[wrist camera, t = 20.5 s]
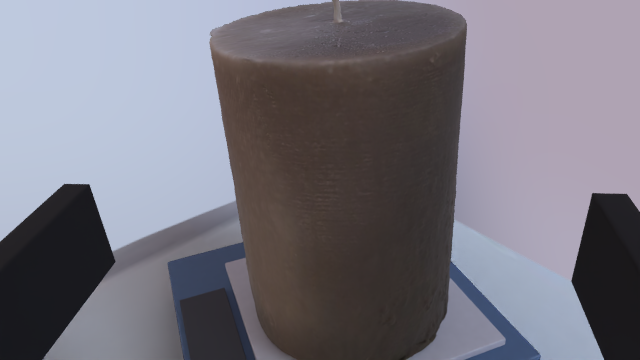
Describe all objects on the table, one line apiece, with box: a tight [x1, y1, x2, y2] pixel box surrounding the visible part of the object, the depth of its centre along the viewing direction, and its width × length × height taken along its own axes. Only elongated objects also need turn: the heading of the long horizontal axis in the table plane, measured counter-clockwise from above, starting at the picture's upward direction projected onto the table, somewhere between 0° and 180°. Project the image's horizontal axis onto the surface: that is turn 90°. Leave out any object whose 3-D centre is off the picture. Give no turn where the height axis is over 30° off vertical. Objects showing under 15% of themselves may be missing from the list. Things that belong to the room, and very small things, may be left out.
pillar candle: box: [210, 0, 467, 360], centre depth 22 cm, size 10×10×15 cm
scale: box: [168, 242, 541, 360], centre depth 27 cm, size 15×14×3 cm
